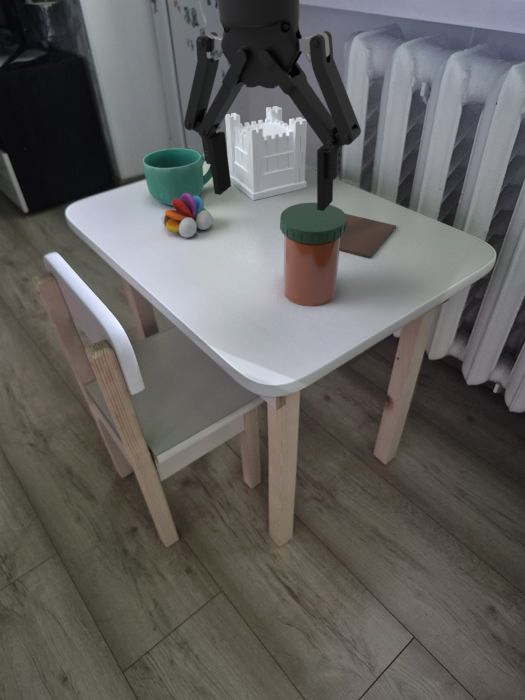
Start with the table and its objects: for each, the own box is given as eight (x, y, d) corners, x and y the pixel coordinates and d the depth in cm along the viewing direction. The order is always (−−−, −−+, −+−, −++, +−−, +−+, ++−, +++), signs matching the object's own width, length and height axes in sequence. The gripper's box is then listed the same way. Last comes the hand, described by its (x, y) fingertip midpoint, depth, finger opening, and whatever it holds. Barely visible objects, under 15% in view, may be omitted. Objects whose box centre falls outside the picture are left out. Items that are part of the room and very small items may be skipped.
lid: (327, 250, 68) (328, 238, 67) (268, 233, 72) (267, 221, 71) (356, 222, 74) (357, 211, 73) (299, 208, 79) (300, 197, 77)
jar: (343, 285, 82) (351, 216, 74) (321, 312, 76) (327, 240, 68) (298, 272, 85) (300, 204, 77) (273, 296, 80) (273, 226, 72)
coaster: (395, 228, 97) (396, 225, 97) (370, 258, 88) (370, 255, 88) (332, 213, 103) (333, 210, 103) (302, 240, 94) (303, 238, 94)
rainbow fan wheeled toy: (156, 230, 98) (150, 196, 94) (193, 214, 104) (189, 181, 99) (183, 244, 94) (178, 209, 89) (219, 226, 99) (216, 193, 94)
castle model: (253, 200, 109) (251, 131, 99) (227, 179, 118) (222, 114, 108) (306, 187, 114) (309, 120, 104) (277, 168, 123) (277, 105, 113)
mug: (158, 215, 104) (150, 172, 97) (143, 194, 112) (136, 153, 106) (229, 201, 109) (226, 158, 102) (210, 182, 117) (206, 141, 111)
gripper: (407, -43, 40) (384, 198, 54) (169, -27, 50) (201, 173, 64) (379, -35, 35) (362, 228, 49) (122, -19, 45) (168, 196, 59)
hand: (271, 197), depth 57 cm, fingers open, 13 cm apart
